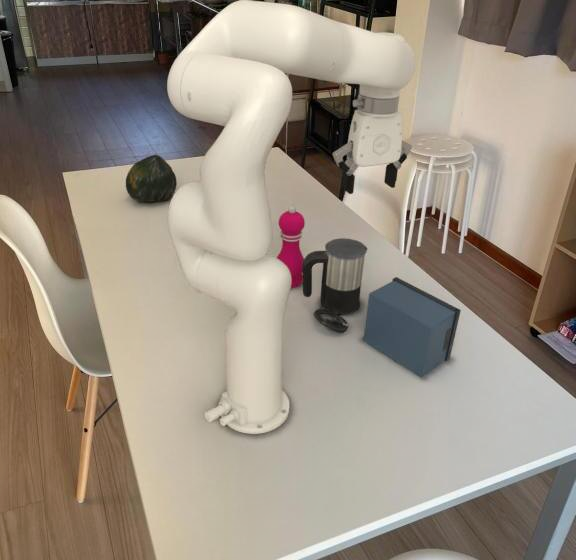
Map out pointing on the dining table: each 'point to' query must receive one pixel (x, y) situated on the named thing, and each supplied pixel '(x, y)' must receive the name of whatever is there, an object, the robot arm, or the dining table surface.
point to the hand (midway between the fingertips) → (369, 188)
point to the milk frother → (336, 280)
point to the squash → (151, 180)
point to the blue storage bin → (410, 326)
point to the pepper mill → (292, 244)
